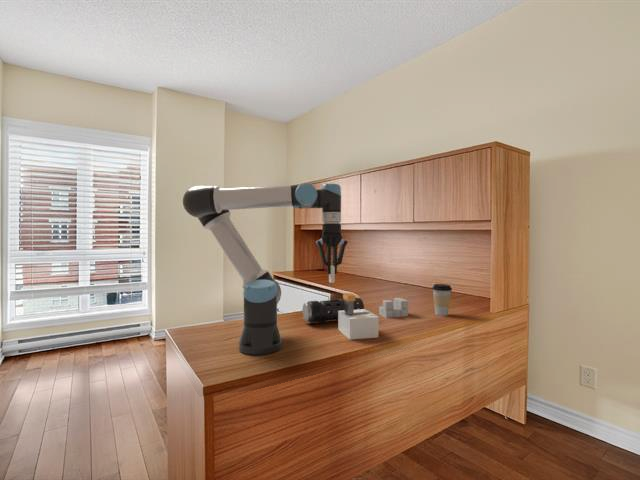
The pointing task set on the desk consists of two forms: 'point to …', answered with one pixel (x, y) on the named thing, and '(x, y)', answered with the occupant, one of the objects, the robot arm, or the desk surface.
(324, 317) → the muzzle brake
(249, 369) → the desk surface
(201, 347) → the desk surface
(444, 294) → the coffee cup
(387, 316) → the puzzle cube
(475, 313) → the desk surface
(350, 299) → the breaker toggle
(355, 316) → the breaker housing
